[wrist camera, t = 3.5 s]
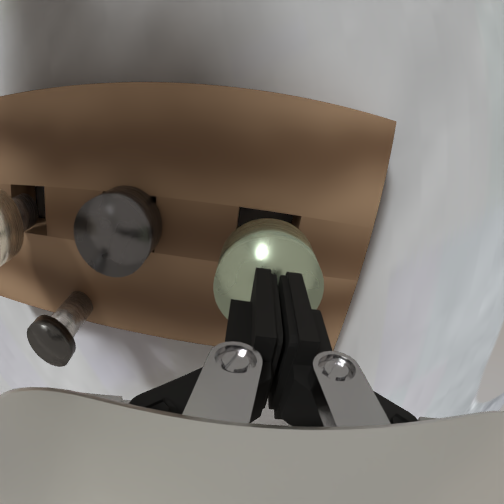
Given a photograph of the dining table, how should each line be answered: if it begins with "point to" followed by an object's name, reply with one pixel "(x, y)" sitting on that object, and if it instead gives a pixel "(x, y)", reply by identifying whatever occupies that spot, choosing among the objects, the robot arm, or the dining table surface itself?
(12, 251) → the knob cream
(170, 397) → the robot arm
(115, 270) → the knob charcoal
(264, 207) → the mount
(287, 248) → the knob sage
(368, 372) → the dining table surface
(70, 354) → the dial post
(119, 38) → the dining table surface
